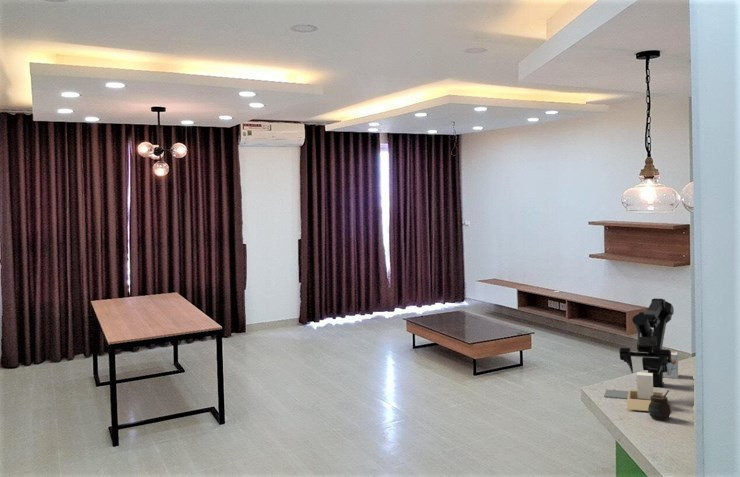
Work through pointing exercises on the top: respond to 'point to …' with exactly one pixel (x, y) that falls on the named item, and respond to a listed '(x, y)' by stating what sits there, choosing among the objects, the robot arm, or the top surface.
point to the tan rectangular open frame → (638, 401)
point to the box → (644, 385)
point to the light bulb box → (672, 366)
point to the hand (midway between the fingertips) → (645, 373)
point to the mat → (616, 394)
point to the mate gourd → (659, 407)
